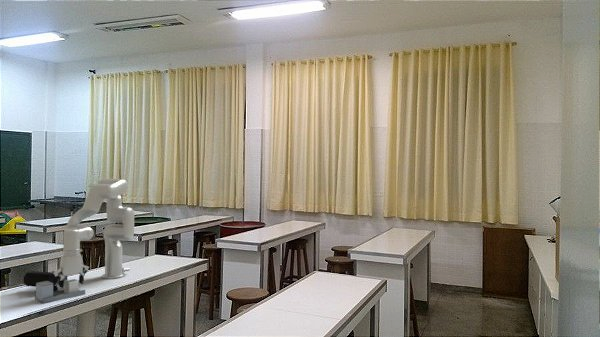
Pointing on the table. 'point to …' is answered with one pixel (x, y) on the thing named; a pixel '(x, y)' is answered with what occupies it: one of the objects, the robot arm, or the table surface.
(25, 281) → the security camera
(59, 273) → the relay block
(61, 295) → the gray flat slab
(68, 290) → the block
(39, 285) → the mounted module
